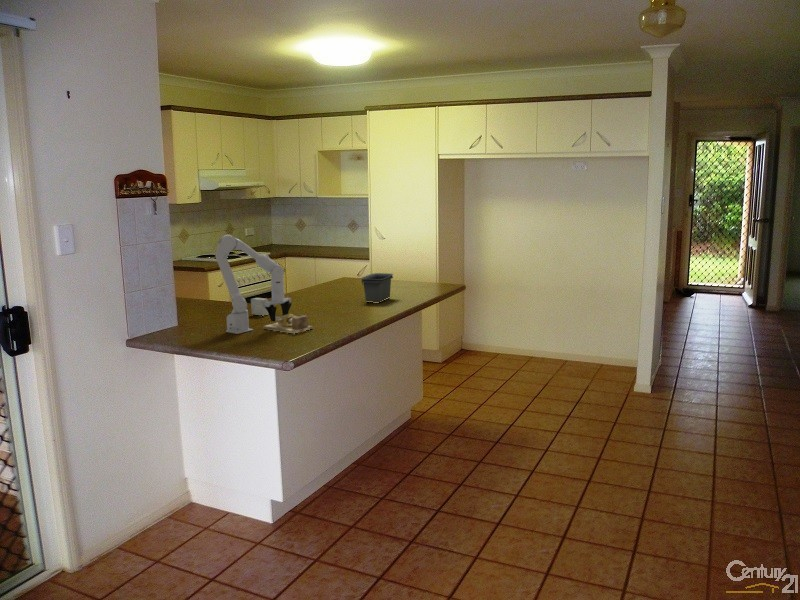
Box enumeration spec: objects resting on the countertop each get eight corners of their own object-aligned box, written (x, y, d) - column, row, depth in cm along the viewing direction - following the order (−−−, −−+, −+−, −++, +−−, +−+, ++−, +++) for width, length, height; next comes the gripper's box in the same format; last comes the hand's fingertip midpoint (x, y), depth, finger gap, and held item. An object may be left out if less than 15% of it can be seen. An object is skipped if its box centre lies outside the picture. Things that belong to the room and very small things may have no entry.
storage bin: (382, 304, 366) (381, 278, 364) (355, 303, 371) (355, 277, 369) (395, 298, 386) (395, 273, 383) (370, 297, 391) (370, 272, 388)
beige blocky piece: (294, 334, 298) (293, 319, 297) (263, 329, 310) (262, 315, 308) (313, 329, 307) (312, 315, 306) (282, 324, 319) (281, 310, 318)
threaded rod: (296, 324, 303) (296, 320, 303) (272, 320, 312) (272, 316, 312) (299, 323, 305) (299, 319, 305) (275, 319, 314) (275, 315, 314)
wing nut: (281, 328, 303) (281, 317, 302) (277, 327, 305) (276, 316, 304) (298, 323, 312) (298, 313, 311) (294, 323, 313) (293, 312, 312)
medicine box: (269, 315, 342) (268, 298, 341) (263, 317, 338) (262, 300, 337) (257, 314, 346) (256, 297, 344) (251, 315, 342) (250, 298, 341)
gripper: (272, 293, 301) (273, 323, 303) (295, 289, 312) (296, 317, 314) (261, 292, 305) (262, 321, 307) (284, 288, 316) (285, 316, 319)
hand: (279, 319), depth 311 cm, fingers open, 7 cm apart
